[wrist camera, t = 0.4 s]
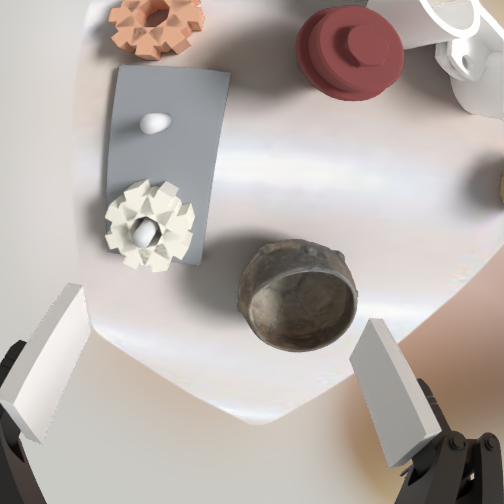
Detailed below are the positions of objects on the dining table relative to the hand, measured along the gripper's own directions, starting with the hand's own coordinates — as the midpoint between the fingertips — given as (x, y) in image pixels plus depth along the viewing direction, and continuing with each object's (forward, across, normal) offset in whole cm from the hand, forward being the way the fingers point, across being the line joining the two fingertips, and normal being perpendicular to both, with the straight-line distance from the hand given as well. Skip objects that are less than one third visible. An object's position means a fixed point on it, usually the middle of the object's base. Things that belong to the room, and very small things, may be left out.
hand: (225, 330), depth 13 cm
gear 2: (+24, -9, -5) cm, 26 cm away
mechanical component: (+26, +8, +17) cm, 32 cm away
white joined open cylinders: (+26, +25, +25) cm, 44 cm away
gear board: (+26, -9, +1) cm, 27 cm away
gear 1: (+26, -12, +19) cm, 34 cm away
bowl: (+26, +10, -11) cm, 30 cm away
